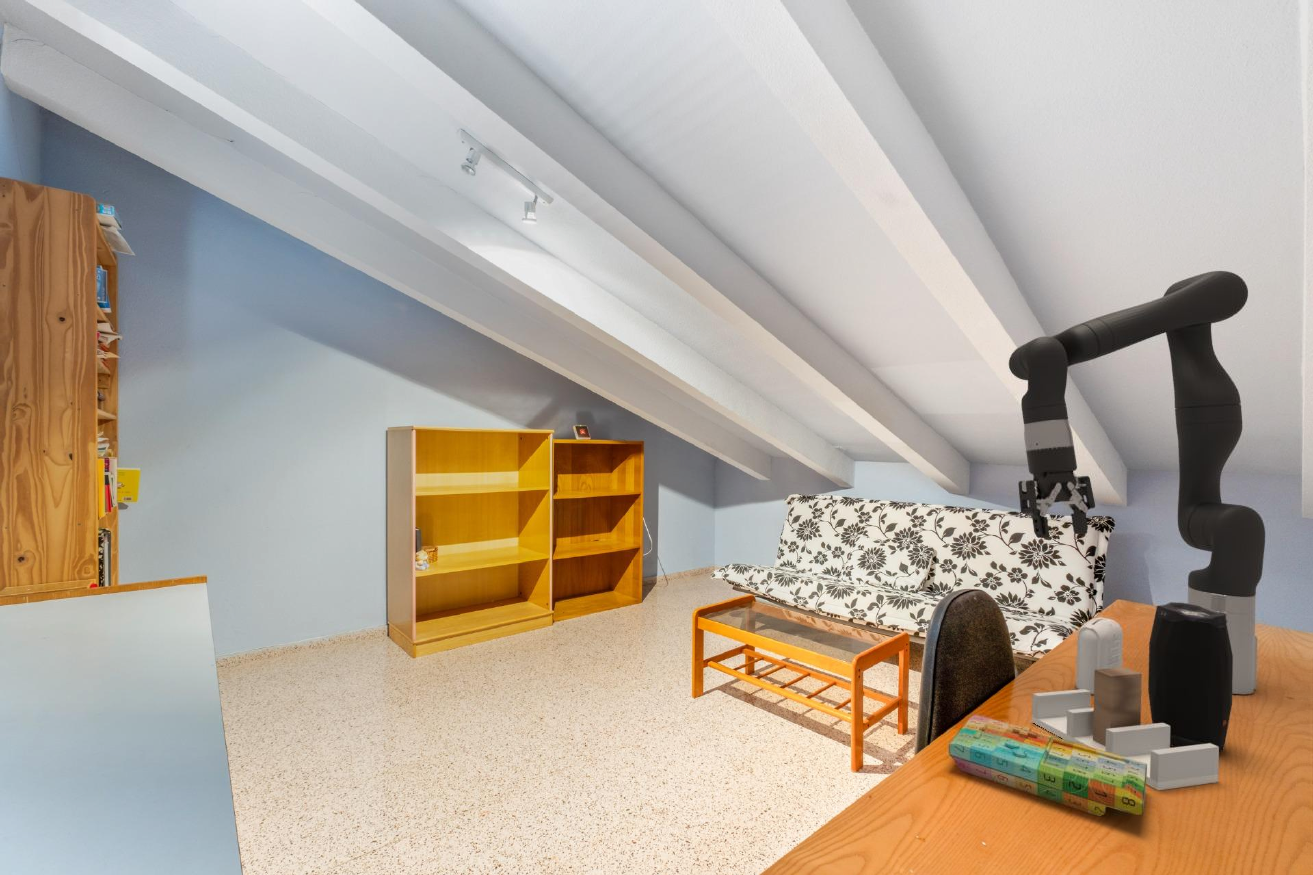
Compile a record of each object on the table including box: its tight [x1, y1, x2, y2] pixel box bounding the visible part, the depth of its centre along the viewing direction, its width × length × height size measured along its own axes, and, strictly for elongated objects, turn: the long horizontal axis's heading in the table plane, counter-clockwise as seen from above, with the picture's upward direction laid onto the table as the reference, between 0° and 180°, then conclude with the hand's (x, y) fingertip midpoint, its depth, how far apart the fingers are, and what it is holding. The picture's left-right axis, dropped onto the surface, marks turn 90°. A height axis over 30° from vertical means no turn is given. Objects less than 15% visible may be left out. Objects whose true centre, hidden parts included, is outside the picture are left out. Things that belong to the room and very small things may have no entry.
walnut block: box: [1093, 666, 1143, 746], centre depth 89 cm, size 6×2×10 cm, turn 105°
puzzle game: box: [948, 714, 1147, 817], centre depth 80 cm, size 12×5×20 cm
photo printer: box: [1075, 617, 1124, 696], centre depth 112 cm, size 10×4×12 cm, turn 123°
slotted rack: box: [1031, 689, 1220, 791], centre depth 88 cm, size 10×19×4 cm, turn 14°
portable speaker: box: [1147, 601, 1233, 751], centre depth 91 cm, size 9×9×20 cm
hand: (1062, 535), depth 113 cm, fingers open, 8 cm apart
